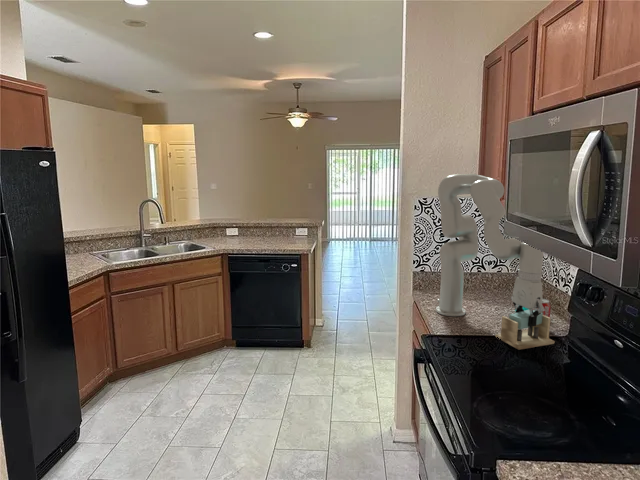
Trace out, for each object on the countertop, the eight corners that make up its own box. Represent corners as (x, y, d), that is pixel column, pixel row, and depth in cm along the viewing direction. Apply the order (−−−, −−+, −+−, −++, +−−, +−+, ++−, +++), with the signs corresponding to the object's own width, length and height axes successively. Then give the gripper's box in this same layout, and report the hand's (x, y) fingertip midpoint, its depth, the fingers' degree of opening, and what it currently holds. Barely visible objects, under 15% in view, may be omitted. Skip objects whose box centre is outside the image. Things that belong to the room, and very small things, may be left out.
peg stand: (495, 336, 166) (497, 314, 165) (529, 331, 171) (531, 309, 169) (518, 349, 155) (520, 325, 153) (554, 343, 160) (556, 320, 158)
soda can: (551, 329, 173) (553, 300, 171) (544, 334, 169) (547, 304, 166) (532, 324, 178) (535, 296, 176) (525, 329, 174) (528, 300, 171)
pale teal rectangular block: (529, 318, 167) (530, 308, 166) (541, 323, 163) (542, 313, 162) (508, 324, 161) (509, 314, 161) (520, 329, 157) (521, 318, 156)
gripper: (504, 270, 165) (500, 316, 169) (539, 283, 149) (535, 333, 153) (520, 269, 168) (516, 314, 171) (557, 281, 152) (552, 330, 155)
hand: (525, 322), depth 162 cm, fingers closed on pale teal rectangular block, 5 cm apart
